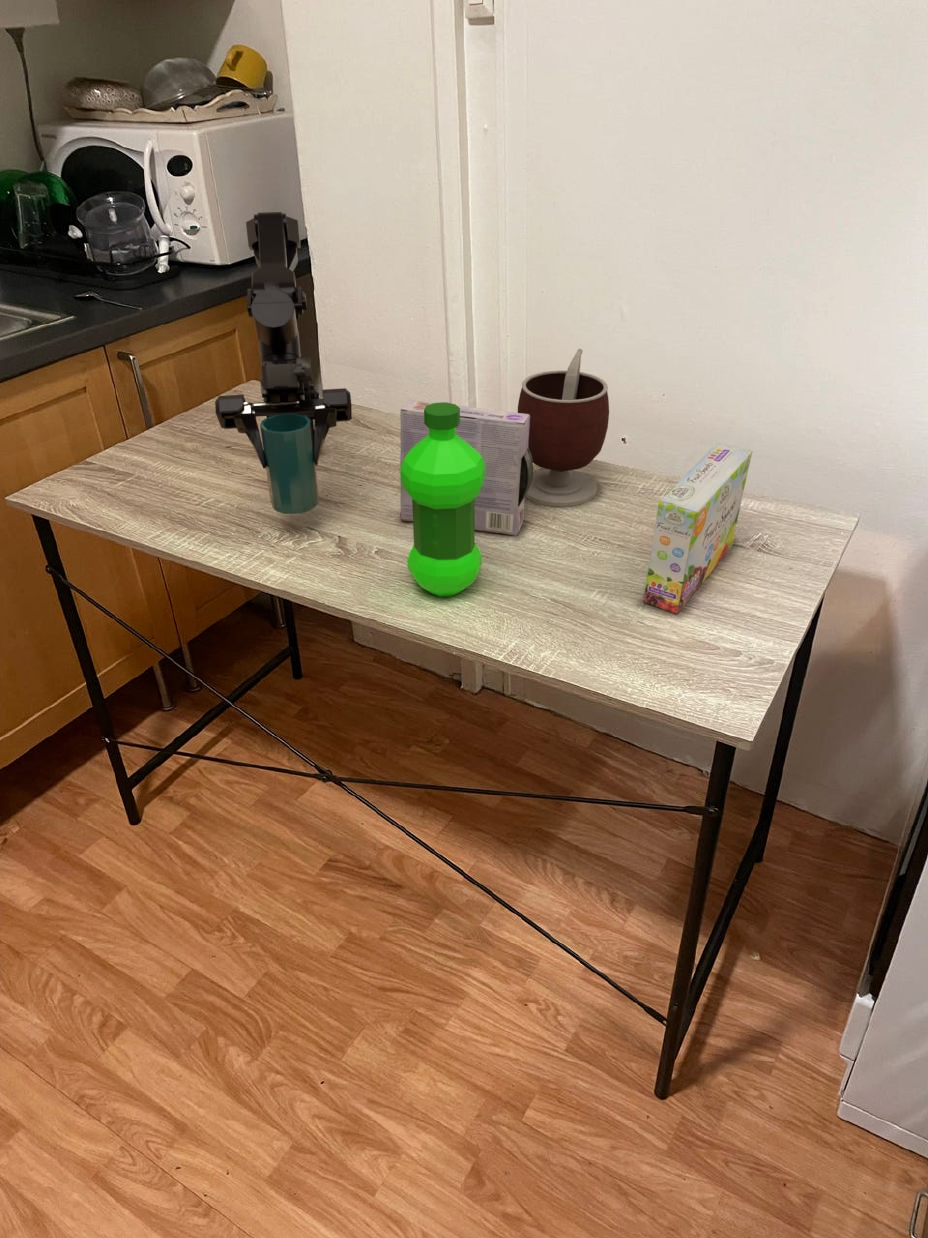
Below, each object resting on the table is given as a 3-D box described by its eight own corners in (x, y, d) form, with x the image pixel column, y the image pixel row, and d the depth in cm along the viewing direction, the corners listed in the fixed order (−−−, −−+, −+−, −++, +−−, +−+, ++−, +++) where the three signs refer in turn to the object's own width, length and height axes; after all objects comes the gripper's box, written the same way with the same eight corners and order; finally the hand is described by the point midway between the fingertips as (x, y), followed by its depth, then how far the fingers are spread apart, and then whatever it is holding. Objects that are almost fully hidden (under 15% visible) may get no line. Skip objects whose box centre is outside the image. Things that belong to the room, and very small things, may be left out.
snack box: (682, 617, 117) (698, 512, 109) (640, 604, 120) (654, 500, 111) (735, 545, 132) (754, 448, 123) (698, 535, 134) (714, 439, 126)
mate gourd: (590, 515, 140) (600, 388, 128) (503, 500, 144) (506, 376, 132) (612, 472, 152) (624, 353, 140) (532, 460, 156) (537, 343, 144)
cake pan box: (531, 522, 138) (536, 410, 128) (524, 538, 134) (529, 424, 124) (409, 507, 142) (405, 397, 132) (399, 522, 138) (394, 410, 128)
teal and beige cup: (308, 488, 138) (299, 409, 131) (326, 507, 133) (317, 426, 126) (265, 498, 135) (253, 418, 128) (281, 518, 130) (270, 436, 123)
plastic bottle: (431, 558, 129) (427, 387, 115) (497, 579, 125) (501, 403, 110) (391, 592, 122) (381, 414, 108) (459, 615, 118) (458, 432, 103)
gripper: (205, 338, 123) (213, 449, 120) (345, 331, 125) (356, 439, 122) (217, 375, 133) (225, 477, 131) (346, 368, 136) (356, 468, 133)
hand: (290, 465), depth 129 cm, fingers closed on teal and beige cup, 7 cm apart
